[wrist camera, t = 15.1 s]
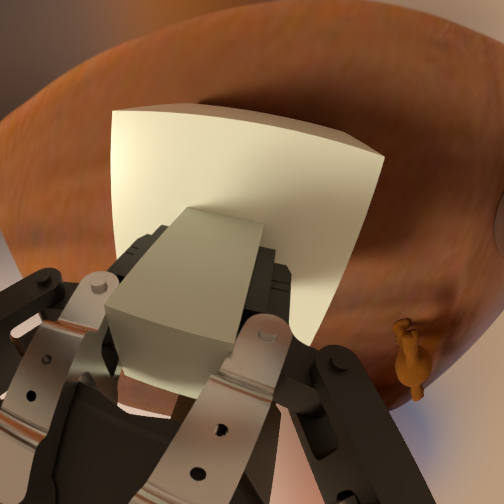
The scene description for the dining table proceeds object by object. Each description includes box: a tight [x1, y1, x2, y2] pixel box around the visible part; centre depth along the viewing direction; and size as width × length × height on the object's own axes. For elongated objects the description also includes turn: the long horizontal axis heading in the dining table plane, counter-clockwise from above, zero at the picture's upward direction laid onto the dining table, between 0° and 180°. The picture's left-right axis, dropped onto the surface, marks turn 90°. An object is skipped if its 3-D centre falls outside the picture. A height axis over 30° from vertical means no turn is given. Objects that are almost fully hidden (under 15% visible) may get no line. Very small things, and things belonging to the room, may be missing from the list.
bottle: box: [170, 394, 281, 504], centre depth 23 cm, size 8×16×25 cm, turn 20°
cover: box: [104, 103, 385, 399], centre depth 13 cm, size 11×11×15 cm
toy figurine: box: [392, 319, 432, 401], centre depth 22 cm, size 12×4×7 cm, turn 30°
